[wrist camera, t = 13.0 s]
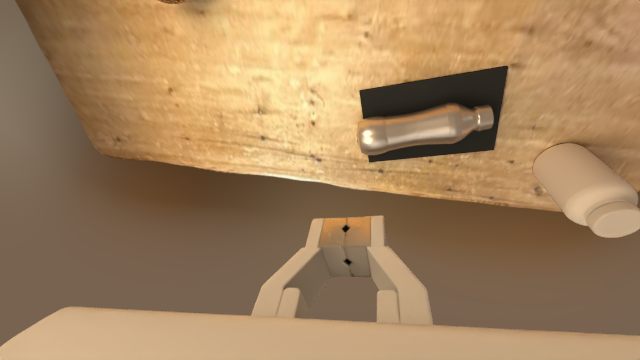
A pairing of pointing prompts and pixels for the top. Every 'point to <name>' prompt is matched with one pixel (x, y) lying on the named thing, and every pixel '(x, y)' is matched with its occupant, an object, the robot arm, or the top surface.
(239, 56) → the top surface
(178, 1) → the vase
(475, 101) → the mat
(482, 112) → the plastic bottle
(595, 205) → the pill bottle
